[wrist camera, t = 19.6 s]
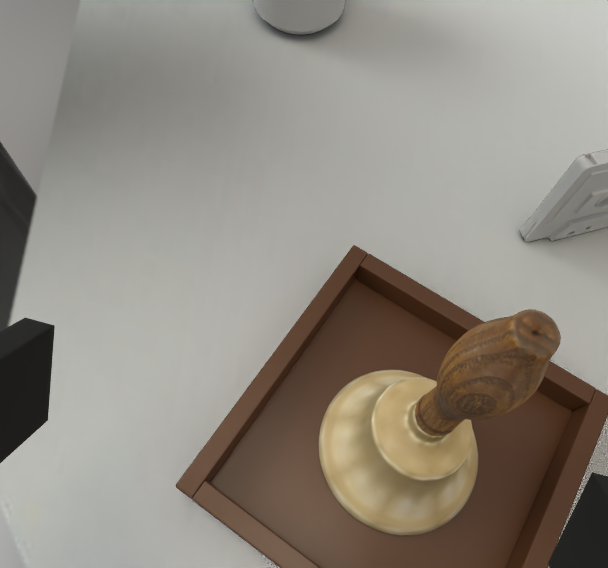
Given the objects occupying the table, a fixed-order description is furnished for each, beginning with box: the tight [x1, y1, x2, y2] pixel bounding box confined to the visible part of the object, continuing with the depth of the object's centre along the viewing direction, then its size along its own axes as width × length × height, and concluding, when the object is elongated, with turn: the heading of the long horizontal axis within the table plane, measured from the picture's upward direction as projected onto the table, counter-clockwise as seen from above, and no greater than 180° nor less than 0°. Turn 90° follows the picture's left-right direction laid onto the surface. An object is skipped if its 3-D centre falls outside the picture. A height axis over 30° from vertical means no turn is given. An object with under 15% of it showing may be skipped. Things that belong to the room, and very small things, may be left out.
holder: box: [176, 245, 608, 568], centre depth 27 cm, size 16×16×3 cm
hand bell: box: [319, 310, 561, 536], centre depth 20 cm, size 8×8×16 cm
